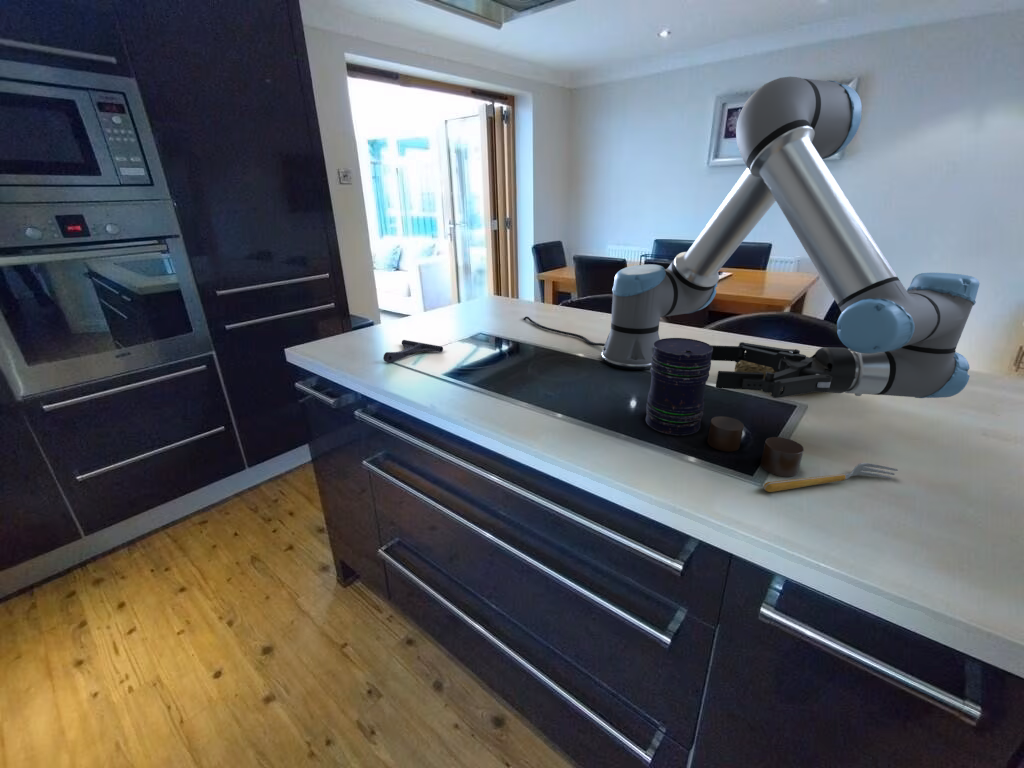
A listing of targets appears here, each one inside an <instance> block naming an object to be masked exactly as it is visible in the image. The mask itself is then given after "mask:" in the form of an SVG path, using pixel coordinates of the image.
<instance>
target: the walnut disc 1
mask: <svg viewBox="0 0 1024 768" xmlns="http://www.w3.org/2000/svg"><path fill="white" fill-rule="evenodd" d="M744 428H745V425H744V423H743V422H742V421H740V420H739V419H737V418H734V417H730V416H725V415H724V416H723V415H722V416H721V415H720V416H719V415H718V416H714V417H712V418H711V419H710V423H709V427H708V435H707V440H706V442H707V444H708V445H709V446H710V447H711V448H713V449H715V450H718V451H720V452H726V453H727V452H729V453H730V452H736V451H738V450H739V449H740V447H741V442H742V438H743V432H744Z"/></svg>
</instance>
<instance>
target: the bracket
mask: <svg viewBox="0 0 1024 768" xmlns="http://www.w3.org/2000/svg"><path fill="white" fill-rule="evenodd" d="M401 345H402V346H403V347H404V349H402V350H399V351H387V352H386V351H385V353H384V354H383V361H384V362H385V363H388V364H389V363H390V364H391V363H394V362H396V361H398V360H401V359H403V358H405V357H408V356H411V355H413V354H416V353H422V352H423V353H424V352H437V353H442V352H443V351H444V347H443V346H441V345H436V344H431V343H425V342H420V341H413V340H407V339H402V340H401Z"/></svg>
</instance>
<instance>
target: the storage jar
mask: <svg viewBox="0 0 1024 768" xmlns="http://www.w3.org/2000/svg"><path fill="white" fill-rule="evenodd" d="M653 349H654V350H653V356H652V359H651V369H649V370H650V375H651V377H650V378H651V379H650V388H649V391H648V394H647V400H646V407H645V408H646V415H645V423H646V424H647V426H648V427H650V428H651V429H653V430H655V431H657V432H659V433H663V434H666V435H671V436H688V435H693V434H695V433H697V432H699V430H700V429H701V424H702V423H701V421H702V419H703V415H704V411H705V407H704V406H705V397H704V396H705V392H706V391H705V390H706V385H707V382H708V380H709V377H710V371H711V367H712V360H711V357H712V356H711V355H712V351H713V347H712V346H711V344H709V343H707V342H705V341H702V340H698V339H693V338H686V337H666V338H661V339H660V340H657V341H655V342H654V346H653Z"/></svg>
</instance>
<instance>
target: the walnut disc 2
mask: <svg viewBox="0 0 1024 768" xmlns="http://www.w3.org/2000/svg"><path fill="white" fill-rule="evenodd" d="M804 451H805V449H804V447H803V446H802V444H800V443H799V442H797V441H795V440H793V439H790V438H786V437H782V436H772V437H768V438H766V440H765V442H764V445H763V450H762V455H761V459H760V467H761V468H762V469H763V470H765V471H766V472H768V473H770V474H772V475H775V476H779V477H783V478H784V477H785V478H787V477H788V478H791V477H794V476H797V474H798V473H799V469H800V466H801V462H802V458H803V455H804Z"/></svg>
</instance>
